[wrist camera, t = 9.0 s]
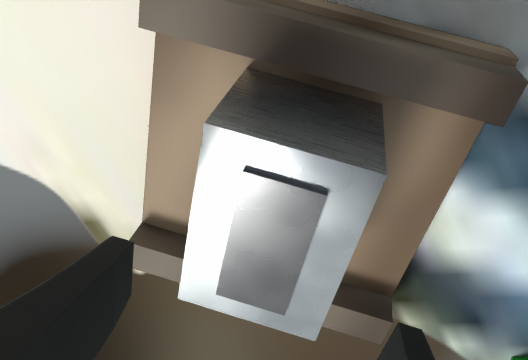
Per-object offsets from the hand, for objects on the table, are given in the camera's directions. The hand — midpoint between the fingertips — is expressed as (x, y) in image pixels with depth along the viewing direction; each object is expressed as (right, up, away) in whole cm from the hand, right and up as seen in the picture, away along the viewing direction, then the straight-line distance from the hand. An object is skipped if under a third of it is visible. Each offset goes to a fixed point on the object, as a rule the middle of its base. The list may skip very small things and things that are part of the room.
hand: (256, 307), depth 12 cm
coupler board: (+1, +4, +7) cm, 8 cm away
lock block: (+1, +4, +6) cm, 7 cm away
